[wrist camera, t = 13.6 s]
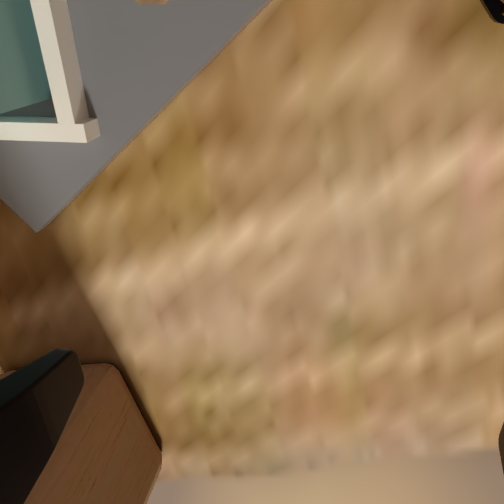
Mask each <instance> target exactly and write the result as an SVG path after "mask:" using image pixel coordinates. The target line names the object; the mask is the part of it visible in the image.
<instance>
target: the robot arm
mask: <svg viewBox="0 0 504 504" xmlns="http://www.w3.org/2000/svg"><path fill="white" fill-rule="evenodd" d="M480 1H481V3H482V5H483V6H484V8H485V10H486V11H487V13H488V15H489V16H490V18H491V19H492V20H493V21H494V22H497V23H501V24H504V16H503V15H502V14H501V13H500V10H499V9H500V5H501V4H502V3H504V0H480ZM83 385H84V373H83V369H82V366H81V362H80V359H79V355H78V353H77V352H76V351H75V350H72V349H64V348H58V349H55V350H53V351H51V352H50V353H48V354H46V355H44V356H42V357H40V358H39V359H37V360H35V361H33V362H31V363H30V364H28V365H26V366H24V367H22V368H20V369H19V370H17V371H15V372H13V373H11V374H9V375H8V376H6V377H4V378H2V379H0V504H24V503H25V501H26V499H27V497H28V496H29V494H30V492H31V490H32V489H33V487H34V485H35V483H36V482H37V480H38V478H39V477H40V475H41V473H42V471H43V470H44V468H45V466H46V464H47V463H48V461H49V459H50V457H51V455H52V453H53V452H54V450H55V448H56V446H57V444H58V442H59V440H60V437H61V435H62V433H63V431H64V428H65V426H66V424H67V422H68V420H69V417H70V415H71V413H72V411H73V408H74V406H75V404H76V402H77V400H78V397H79V395H80V393H81V391H82V388H83ZM499 451H500V456H501V462H502V467H503V473H504V423H503V426H502V429H501V431H500V434H499Z"/></svg>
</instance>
